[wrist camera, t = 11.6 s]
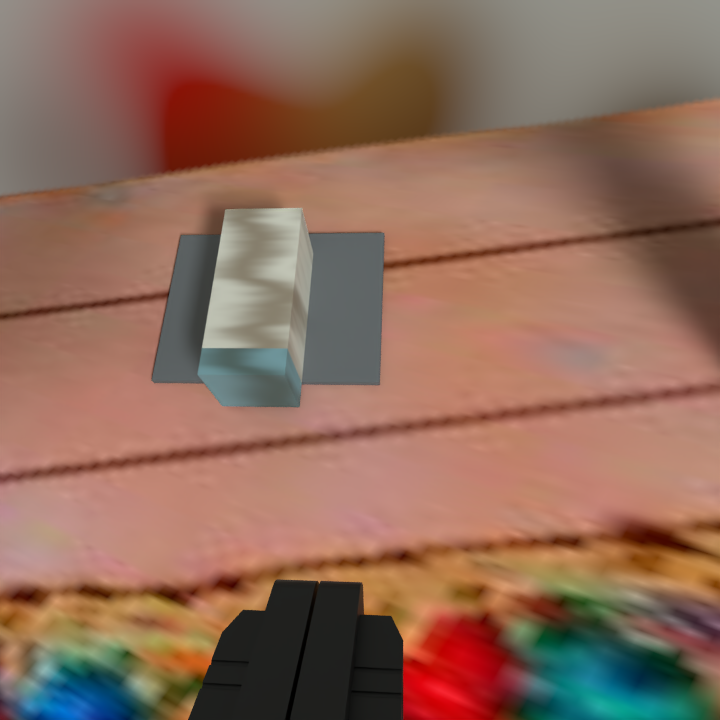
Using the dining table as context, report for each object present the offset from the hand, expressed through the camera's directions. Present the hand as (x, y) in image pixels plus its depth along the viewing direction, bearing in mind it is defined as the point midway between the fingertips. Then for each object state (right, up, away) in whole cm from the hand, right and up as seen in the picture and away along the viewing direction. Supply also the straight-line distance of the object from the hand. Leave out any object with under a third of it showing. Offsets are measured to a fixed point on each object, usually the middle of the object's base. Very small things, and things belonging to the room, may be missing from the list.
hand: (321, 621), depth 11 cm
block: (-7, +2, +33) cm, 34 cm away
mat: (-6, +9, +40) cm, 42 cm away
